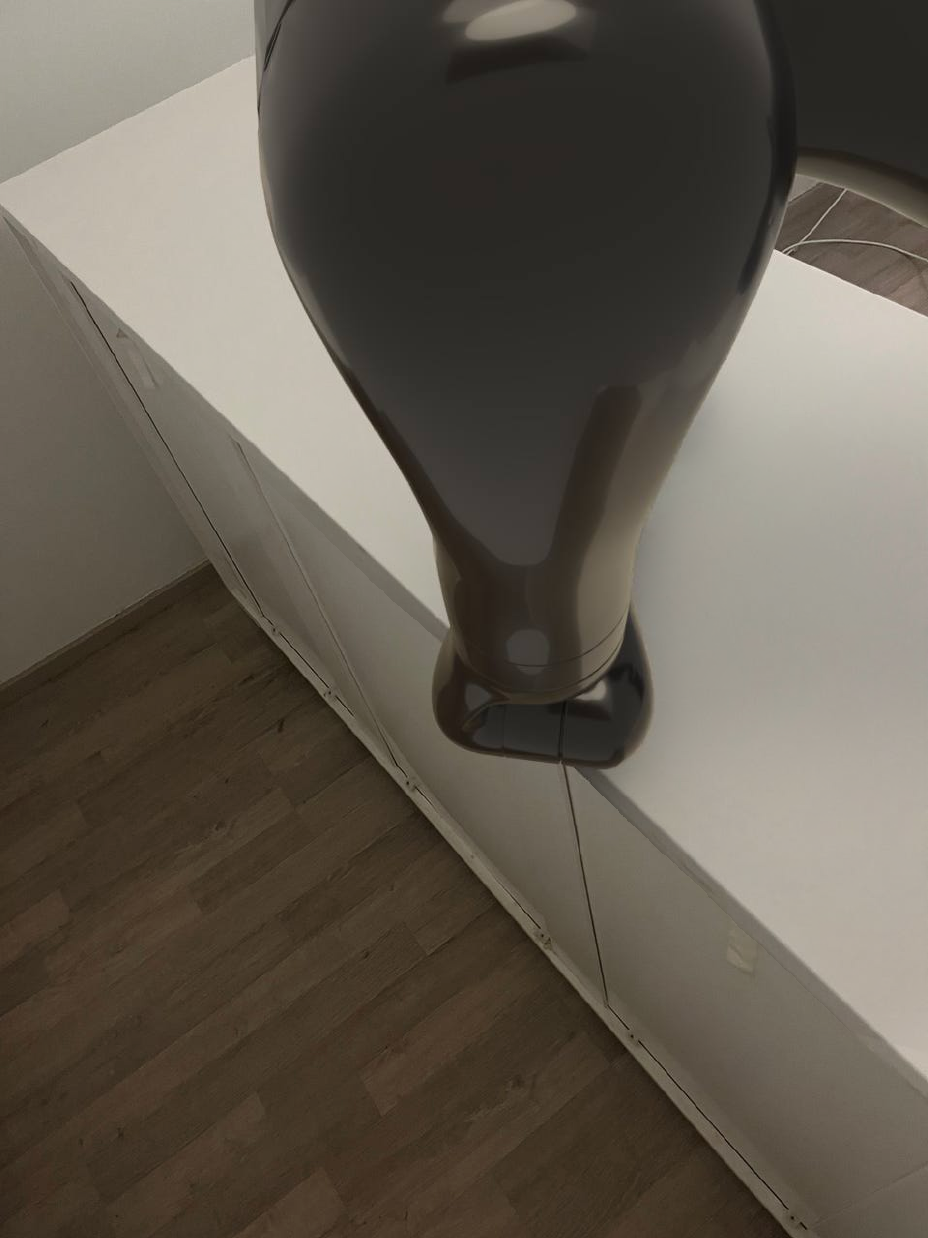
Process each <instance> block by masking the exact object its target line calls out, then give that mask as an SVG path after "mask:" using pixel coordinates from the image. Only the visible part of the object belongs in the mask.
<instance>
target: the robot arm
mask: <svg viewBox="0 0 928 1238" xmlns="http://www.w3.org/2000/svg"><path fill="white" fill-rule="evenodd" d="M253 16H254V17H253V18H254V20H253V21H254V46H255V48H254V50H255V79H256V82H255V83H256V105H257V106H256V109H257V119H258V120H257V121H258V127H257V142H258V143H257V144H258V159H259V173H260V180H261V188H262V194H263V199H264V205H265V211H266V217H267V219H268V224H269V227H270V231H271V234H272V238H273V241H274V245H275V247H276V250H277V253H278V255H279V258H280V260H281V263H282V266H283V268H284V270H285V272H286V274H287V276H288V279H289V282H290V283H291V285H292V288H293V289H294V291H295V293H296V295H297V298H298V300H299V302H300V304H301V306H302V308H303V310H304V312H305V314H306V316H307V317H308V319H309V321H310V323H311V325H312V327H313V329H314V330H315V332H316V334H317V336H318V338H319V339H320V342H321V343H322V345H323V347H324V349H325V351H326V353H327V354H328V356H329V358H330V359H331V361H332V363H333V364H334V366H335V368H336V369H337V371H338V373H339V374H340V376H341V378H342V380H343V381H344V383H345V385H346V387H347V388H348V390H349V392H350V393H351V395H352V397H353V398H354V399H355V401H356V403H357V405H358V406H359V408H360V409H361V411H362V412H363V414H364V415H365V417H366V419H367V420H368V422H369V423H370V426H372V428H373V430H374V431H375V433H376V434H377V436H378V437H379V439H380V440H381V442H382V443H383V445H384V446H385V448H386V451H388V453H389V455H390V456H391V458H392V460H393V461H394V463H395V464H396V465H397V467H398V469H399V470H400V472H401V474H402V475H403V477H404V480H405V481H406V483H407V485H408V487H409V489H410V491H411V492H412V495H413V496H414V498H415V500H416V503H417V504H418V506H419V508H420V510H421V513H422V514H423V517H424V519H425V521H426V523H427V526H428V528H429V531H430V533H431V537H432V547H433V548H432V549H433V557H434V562H435V568H436V572H437V577H438V582H439V586H440V591H441V595H442V597H441V598H442V601H443V604H444V608H445V612H446V616H447V620H448V623H449V627H448V629H447V631H446V634H445V635H444V638H443V639H442V643H441V645H440V649H439V652H438V654H437V658H436V662H435V666H434V670H433V675H432V682H431V706H432V712H433V716H434V719H435V722H436V724H437V726H438V728H439V730H440V731H441V733H442V734H443V735H444V736H445V738H447V739H448V740H449V741H450V742H451V743H453V744H454V745H456V746H458V747H460V748H461V749H463V750H466V751H469V752H471V753H475V754H479V755H485V756H492V757H497V758H506V759H515V760H519V761H520V760H521V761H528V762H529V761H530V762H537V763H543V764H553V765H559V764H560V765H561V766H565V767H570V768H571V767H572V768H578V769H586V770H595V771H597V770H598V771H599V770H600V771H601V770H602V771H603V770H610V769H614V768H618V767H619V766H621V765H623V764H625V763H626V762H628V761H629V760H630V759H631V758H632V757H633V756H635V754H636V753H638V750H639V749H640V748H641V747H642V745H643V744H644V742H645V740H646V739H647V736H648V734H649V732H650V729H651V727H652V722H653V718H654V713H655V684H654V678H653V673H652V672H653V671H652V667H651V662H650V658H649V653H648V649H647V646H646V641H645V638H644V634H643V630H642V627H641V623H640V619H639V614H638V611H637V606H636V603H635V602H636V601H635V595H634V590H633V578H634V571H635V563H636V558H637V552H638V546H639V543H640V539H641V536H642V532H643V530H644V527H645V525H646V523H647V521H648V518H649V516H650V513H651V511H652V509H653V507H654V505H655V503H656V501H657V499H658V497H659V495H660V492H661V490H662V488H663V486H664V484H665V482H666V480H667V478H668V476H669V474H670V472H671V469H672V467H673V465H674V463H675V461H676V458H677V457H678V455H679V452H680V450H681V447H682V445H683V443H684V441H685V439H686V437H687V435H688V434H689V431H690V429H691V428H692V426H693V424H694V422H695V419H696V418H697V416H698V414H699V412H700V411H701V409H702V406H703V405H704V402H705V401H706V399H707V397H708V395H709V392H710V391H711V389H712V387H713V385H714V383H715V381H716V379H717V377H718V376H719V373H720V371H721V369H722V368H723V365H724V363H725V362H726V360H727V358H728V356H729V354H730V352H731V349H732V347H733V346H734V343H735V341H736V340H737V337H738V335H739V333H740V331H741V329H742V327H743V325H744V322H745V320H746V318H747V315H748V313H749V311H750V309H751V307H752V304H753V303H754V300H755V299H756V295H757V293H758V290H759V288H760V285H761V283H762V280H763V278H764V276H765V274H766V271H767V269H768V266H769V263H770V261H771V258H772V255H773V253H774V250H775V247H776V245H777V241H778V238H779V236H780V232H781V230H782V228H783V224H784V220H785V217H786V213H787V211H788V210H787V208H788V206H789V202H790V199H791V195H792V191H793V187H794V182H795V178H796V177H802V178H807V179H810V180H813V181H817V182H820V183H822V184H823V183H824V184H826V185H831V186H833V187H837V188H841V189H844V190H847V191H849V192H851V193H853V194H856V195H859V196H861V197H864V198H865V199H869V200H871V201H873V202H876V203H878V204H881V205H882V206H884V207H886V208H888V209H890V210H892V211H893V212H896V213H897V214H900V216H903V217H905V218H907V219H909V220H911V221H913V222H914V223H916V224H918V225H920V226H922V227H924V228H926V229H928V0H253Z"/></svg>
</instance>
